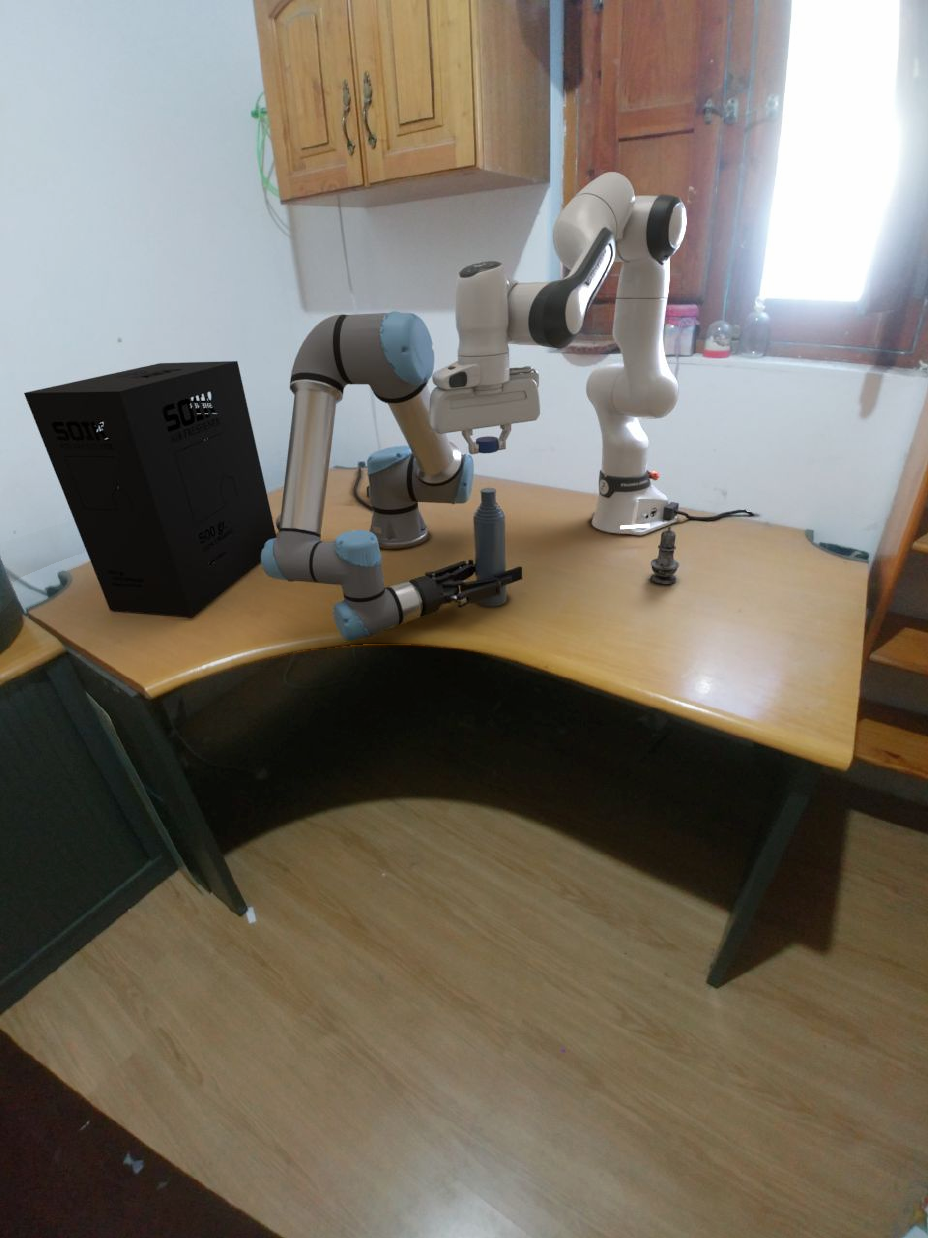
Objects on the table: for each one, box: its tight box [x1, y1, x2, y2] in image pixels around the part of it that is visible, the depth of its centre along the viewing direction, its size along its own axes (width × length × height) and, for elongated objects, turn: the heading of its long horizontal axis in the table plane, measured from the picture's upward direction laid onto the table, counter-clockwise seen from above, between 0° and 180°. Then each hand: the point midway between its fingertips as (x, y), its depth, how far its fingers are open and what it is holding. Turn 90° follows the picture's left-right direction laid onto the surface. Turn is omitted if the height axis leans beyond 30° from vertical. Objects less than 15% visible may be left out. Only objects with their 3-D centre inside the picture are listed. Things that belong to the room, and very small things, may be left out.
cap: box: [475, 435, 499, 454], centre depth 111 cm, size 4×4×2 cm
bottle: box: [472, 487, 508, 608], centre depth 121 cm, size 6×6×24 cm
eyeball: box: [275, 513, 281, 531], centre depth 163 cm, size 6×6×6 cm
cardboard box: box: [23, 360, 278, 618], centre depth 133 cm, size 38×20×45 cm, turn 167°
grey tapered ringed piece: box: [649, 526, 680, 585], centre depth 128 cm, size 6×6×12 cm
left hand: (510, 567), depth 126 cm, fingers closed on bottle, 6 cm apart
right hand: (487, 451), depth 111 cm, fingers closed on cap, 4 cm apart
